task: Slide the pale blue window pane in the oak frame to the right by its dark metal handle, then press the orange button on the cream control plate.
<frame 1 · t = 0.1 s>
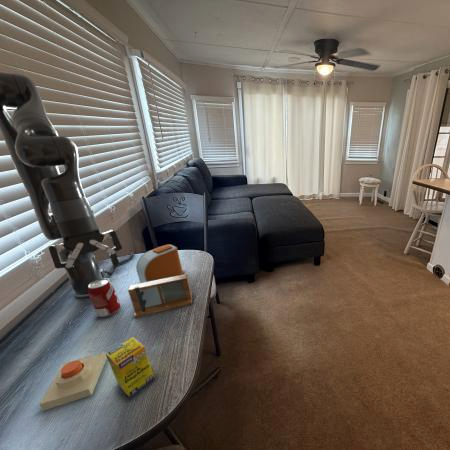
hand: (97, 272, 67), 22 cm above the table, tool pointing down, fingers open, 8 cm apart
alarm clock: (163, 278, 103), on the table
soda can: (109, 312, 84), on the table
window frame: (165, 305, 87), on the table
control plate: (78, 381, 60), on the table
button: (72, 369, 59), point 4 cm above the table, slide at 0.1 cm
window pane: (148, 296, 81), point 7 cm above the table, slide at 0.0 cm
supplement box: (137, 382, 60), on the table
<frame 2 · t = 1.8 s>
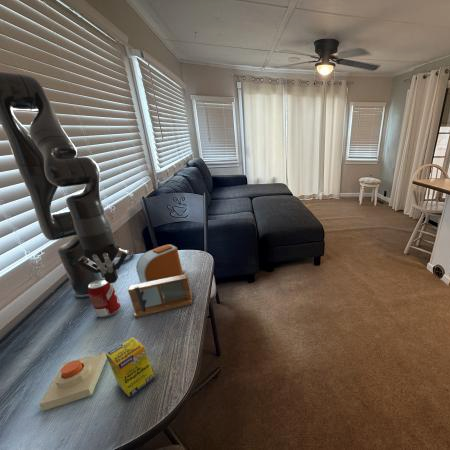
hand: (113, 281, 74), 16 cm above the table, tool pointing down, fingers closed
nothing on the table moved.
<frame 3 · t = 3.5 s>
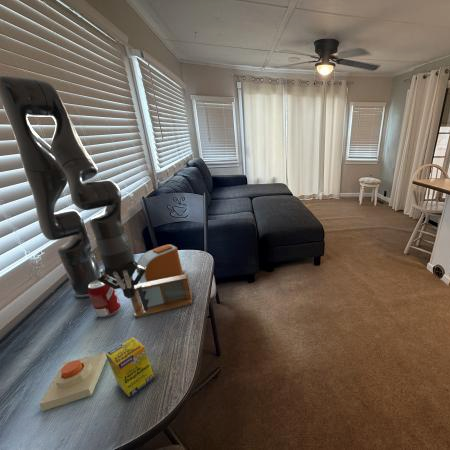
hand: (131, 296, 77), 9 cm above the table, tool pointing down, fingers closed
window pane: (151, 295, 82), point 7 cm above the table, slide at 0.7 cm, touching gripper
everything else where it was.
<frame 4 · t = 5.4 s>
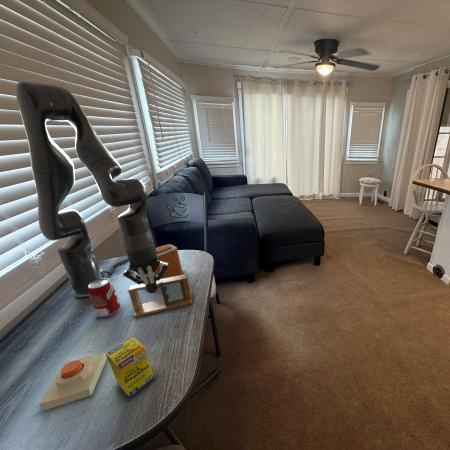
hand: (153, 291, 79), 9 cm above the table, tool pointing down, fingers closed
window pane: (171, 290, 84), point 7 cm above the table, slide at 7.0 cm, touching gripper
everything else where it was.
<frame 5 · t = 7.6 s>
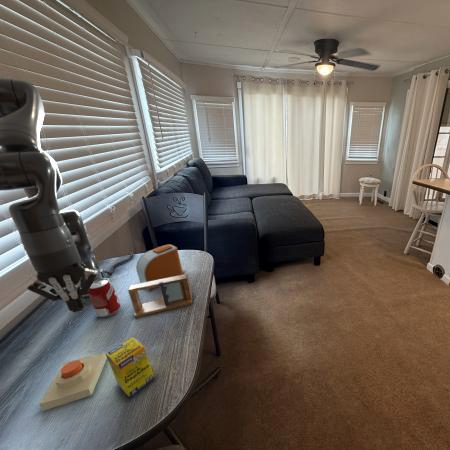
hand: (78, 309, 59), 18 cm above the table, tool pointing down, fingers closed
window pane: (171, 290, 84), point 7 cm above the table, slide at 7.0 cm
everything else where it was.
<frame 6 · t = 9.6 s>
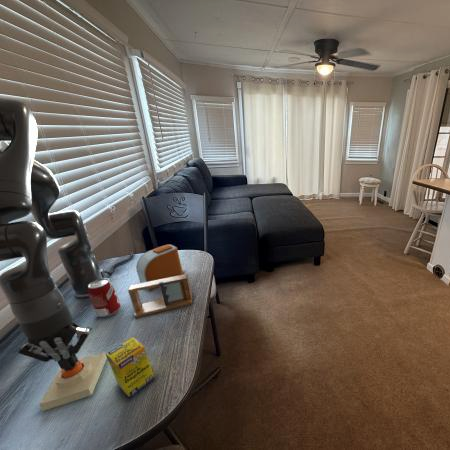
hand: (70, 366, 58), 5 cm above the table, tool pointing down, fingers closed
button: (72, 369, 59), point 4 cm above the table, slide at 0.0 cm, touching gripper
everything else where it was.
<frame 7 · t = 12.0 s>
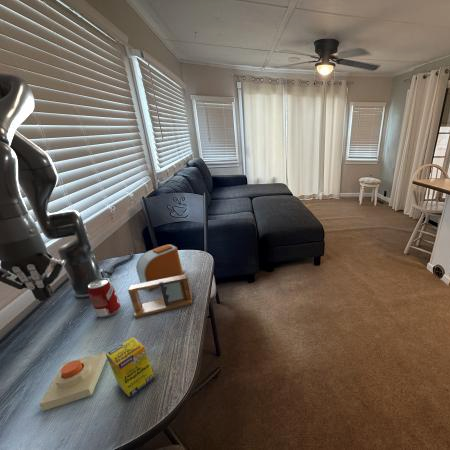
hand: (46, 298, 59), 20 cm above the table, tool pointing down, fingers closed
button: (72, 369, 59), point 4 cm above the table, slide at 0.1 cm
everything else where it was.
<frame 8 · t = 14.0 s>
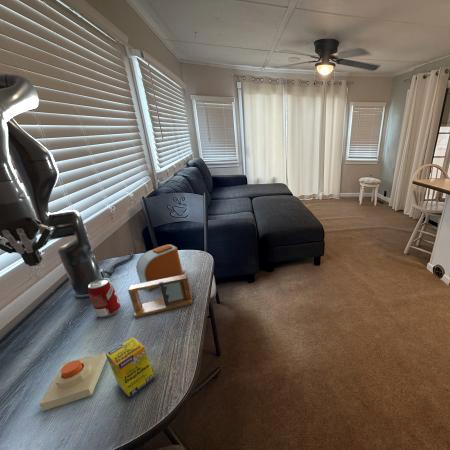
hand: (35, 264, 62), 27 cm above the table, tool pointing down, fingers closed
nothing on the table moved.
at the end: window pane slide at 7.0 cm; button pushed in 1.1 cm at the most during the clip, back to where it started at the end; button slide at 0.1 cm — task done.
